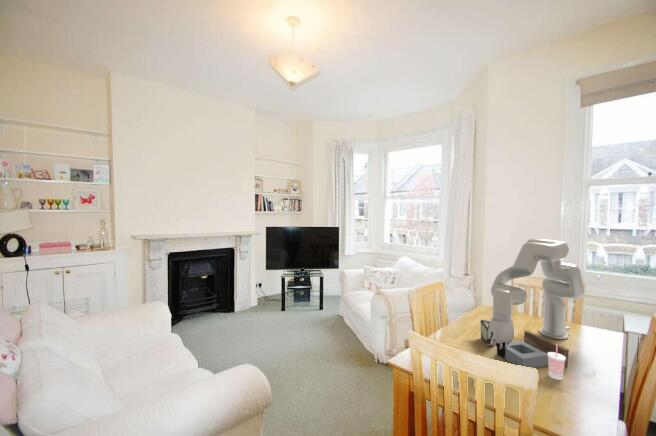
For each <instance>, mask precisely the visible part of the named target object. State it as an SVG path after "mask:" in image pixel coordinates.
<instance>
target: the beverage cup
mask: <svg viewBox="0 0 656 436" xmlns="http://www.w3.org/2000/svg"><path fill="white" fill-rule="evenodd" d="M555 344H556V352H548V353H547V356H548V366H547V367H548V376H549V377H551V378H552V379H554V380H559V381H560V380H562V381H563V377H564V369H565V368H564V363H565V360H566V357H565V356H563V355H562V354H559V353H557V348H558V345H559V344H558V343H555Z"/></svg>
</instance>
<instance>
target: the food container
mask: <svg viewBox="0 0 656 436" xmlns="http://www.w3.org/2000/svg"><path fill="white" fill-rule="evenodd" d="M489 325H490V321H489V320H485V319H480V340H481V342H482V343H483V344H484V345H485V347H486V348H493V347H494V346H495V345H492V344H491V339H489V338H488V333H489Z"/></svg>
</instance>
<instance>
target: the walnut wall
mask: <svg viewBox="0 0 656 436" xmlns="http://www.w3.org/2000/svg"><path fill="white" fill-rule="evenodd" d="M523 333H524V334H523V337H524V338H523V342H525V343H527V344H529V345H531V346H533V347H535V348H537V349H539V350H541V351H543V352H545V353H548V352H556V344H557V343H554V341H552V340H549V339H546V338H544V337H542V336H541V335H538V334H535V333H534V332H532V331H529V330H524V332H523ZM569 352H570V350H569V349H568V348H567V347H566V348H565V347H564V346H562V345H559V344H558V348H557V353H559V354H562V355H563V356H565V357H566V360H565V363H564V369H566V368H569Z"/></svg>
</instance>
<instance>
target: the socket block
mask: <svg viewBox="0 0 656 436" xmlns="http://www.w3.org/2000/svg"><path fill="white" fill-rule="evenodd" d="M502 359H505V360H506V361H508V362H510V363H512V364H513V365H514V364H516V365H521V366H526V367H534V368H533V369H536V367H537V368H542V367H543V368H544V367H548V356H547V353H545V352H543V351H541V350H539V349H537V348H535V347H533V346H531V345H529V344H527V343H525V342H524V340H513V341H512V343H509V344H508V345H507V348H506V351H505V358H504V357H503V358H502ZM516 365H515V366H516Z"/></svg>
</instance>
